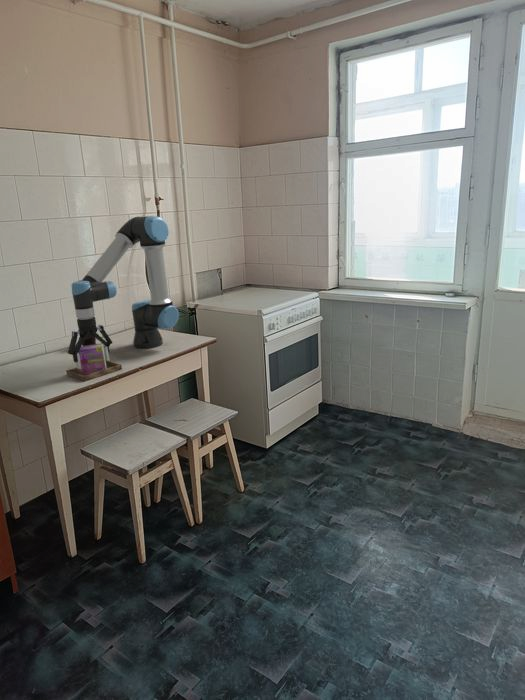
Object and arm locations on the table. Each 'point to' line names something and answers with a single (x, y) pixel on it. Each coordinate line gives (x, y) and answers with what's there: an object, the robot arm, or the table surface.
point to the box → (92, 358)
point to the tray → (110, 368)
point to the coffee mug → (89, 341)
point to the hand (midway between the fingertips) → (93, 364)
